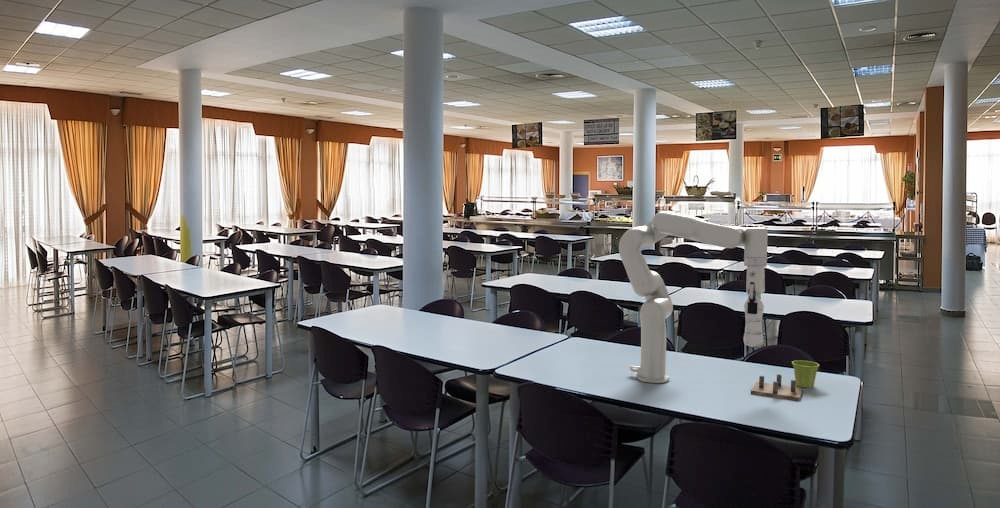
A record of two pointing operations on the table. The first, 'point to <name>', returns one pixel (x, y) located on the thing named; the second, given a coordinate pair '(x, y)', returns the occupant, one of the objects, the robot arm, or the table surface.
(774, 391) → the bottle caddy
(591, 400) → the table surface
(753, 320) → the plastic bottle
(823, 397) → the table surface
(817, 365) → the plant pot
